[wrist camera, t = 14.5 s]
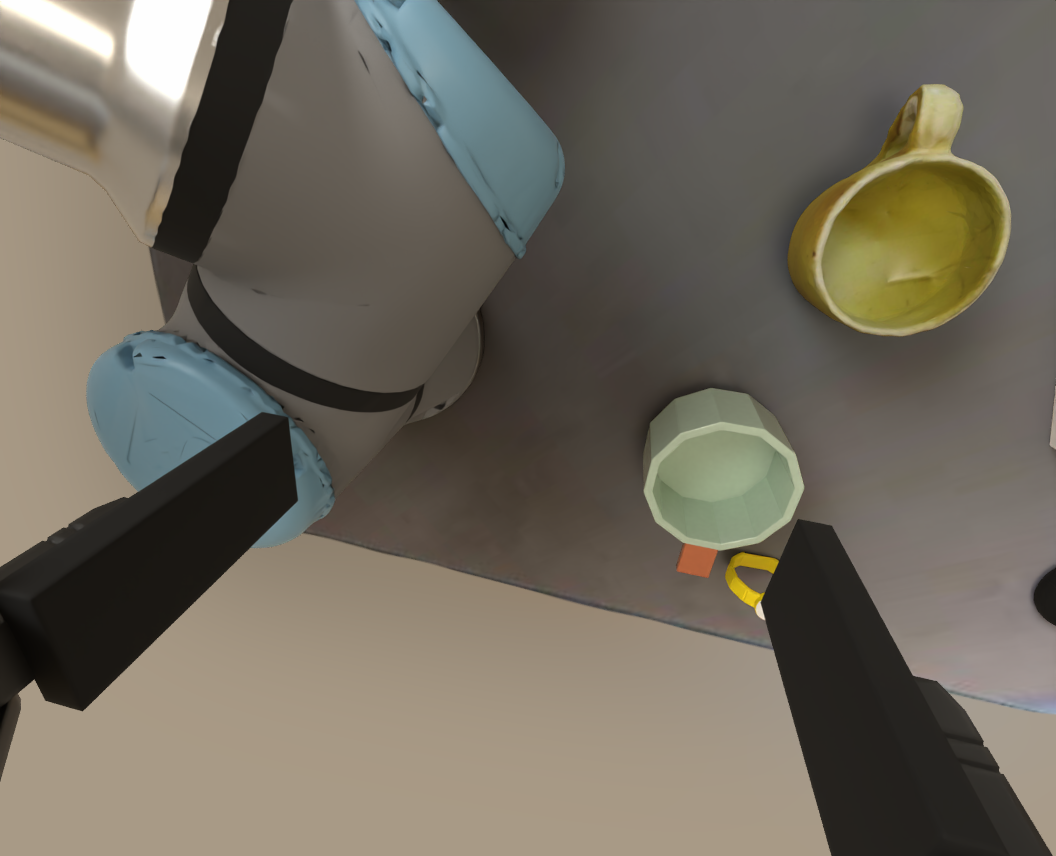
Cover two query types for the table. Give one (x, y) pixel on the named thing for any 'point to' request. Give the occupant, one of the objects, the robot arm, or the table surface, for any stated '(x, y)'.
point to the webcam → (1047, 597)
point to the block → (1053, 426)
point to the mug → (904, 229)
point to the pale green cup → (718, 475)
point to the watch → (739, 587)
